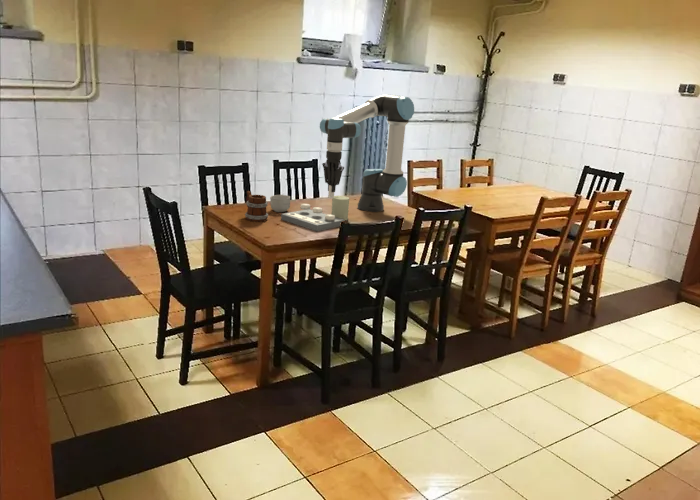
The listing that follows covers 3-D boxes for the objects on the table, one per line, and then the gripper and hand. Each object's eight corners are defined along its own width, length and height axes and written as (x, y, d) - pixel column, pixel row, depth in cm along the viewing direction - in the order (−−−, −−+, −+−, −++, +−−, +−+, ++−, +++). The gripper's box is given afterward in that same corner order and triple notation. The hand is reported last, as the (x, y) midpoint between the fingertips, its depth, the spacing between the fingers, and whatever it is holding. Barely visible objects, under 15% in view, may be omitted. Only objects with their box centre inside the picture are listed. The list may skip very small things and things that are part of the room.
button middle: (317, 210, 308) (317, 206, 308) (324, 212, 305) (324, 208, 305) (310, 211, 305) (310, 208, 304) (317, 213, 302) (317, 210, 301)
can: (328, 216, 318) (329, 194, 315) (344, 216, 322) (345, 194, 318) (334, 221, 310) (336, 198, 307) (350, 220, 314) (352, 198, 310)
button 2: (329, 217, 303) (329, 213, 303) (336, 219, 300) (337, 216, 300) (322, 219, 300) (323, 215, 299) (329, 221, 297) (330, 217, 296)
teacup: (286, 214, 316) (286, 199, 314) (266, 211, 318) (267, 197, 316) (293, 208, 329) (294, 194, 327) (275, 206, 331) (275, 192, 329)
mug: (253, 222, 294) (251, 192, 291) (238, 221, 304) (236, 191, 302) (273, 220, 301) (271, 190, 299) (258, 218, 312) (256, 190, 309)
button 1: (305, 207, 314) (305, 203, 313) (312, 209, 311) (312, 205, 310) (298, 208, 310) (298, 204, 310) (305, 210, 307) (305, 206, 307)
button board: (308, 214, 320) (309, 208, 319) (344, 225, 303) (344, 219, 302) (281, 219, 305) (281, 213, 304) (316, 231, 289) (317, 224, 288)
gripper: (319, 149, 291) (316, 196, 298) (338, 153, 283) (335, 201, 290) (329, 148, 297) (326, 194, 304) (349, 152, 288) (345, 199, 296)
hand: (331, 197), depth 297 cm, fingers closed
